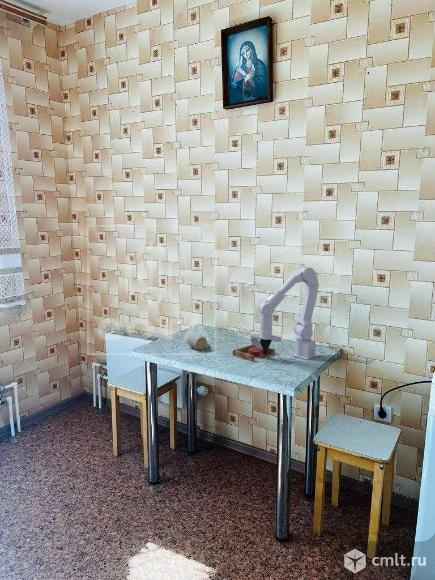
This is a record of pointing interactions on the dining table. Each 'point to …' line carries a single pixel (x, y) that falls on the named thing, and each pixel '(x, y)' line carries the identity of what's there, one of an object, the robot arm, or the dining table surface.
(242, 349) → the brown wooden u-shaped piece
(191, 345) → the ceramic mug
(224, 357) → the dining table surface
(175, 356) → the dining table surface
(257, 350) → the canned food
